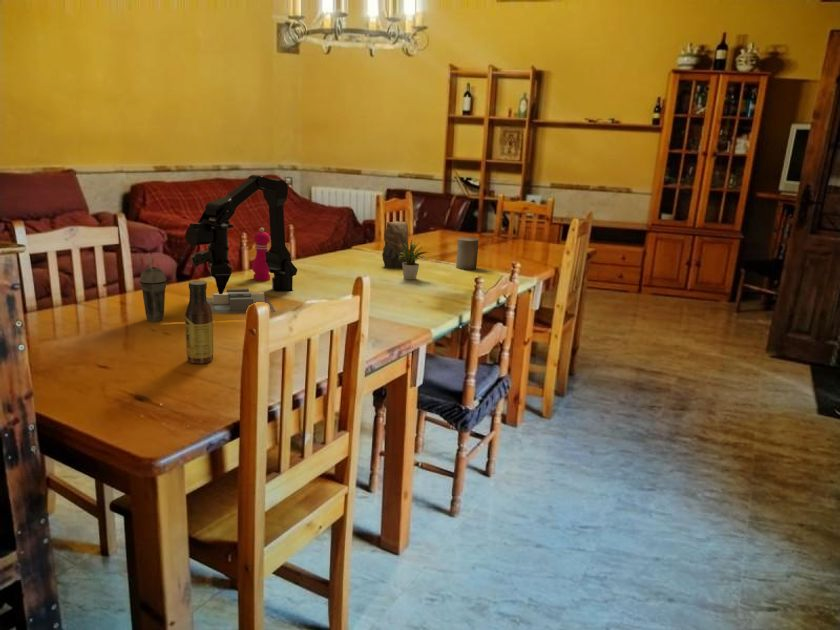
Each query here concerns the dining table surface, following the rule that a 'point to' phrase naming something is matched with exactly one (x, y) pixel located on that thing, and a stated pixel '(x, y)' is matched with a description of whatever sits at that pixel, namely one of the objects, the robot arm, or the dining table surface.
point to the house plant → (411, 261)
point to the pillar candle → (467, 253)
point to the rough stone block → (391, 252)
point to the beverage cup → (153, 292)
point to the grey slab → (235, 302)
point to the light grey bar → (224, 297)
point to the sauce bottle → (199, 325)
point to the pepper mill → (261, 256)
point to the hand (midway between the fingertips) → (219, 290)
